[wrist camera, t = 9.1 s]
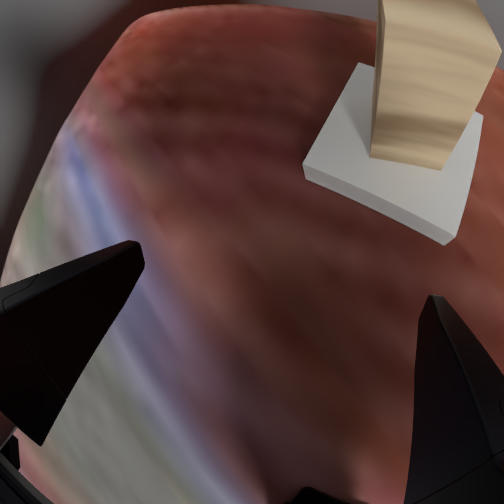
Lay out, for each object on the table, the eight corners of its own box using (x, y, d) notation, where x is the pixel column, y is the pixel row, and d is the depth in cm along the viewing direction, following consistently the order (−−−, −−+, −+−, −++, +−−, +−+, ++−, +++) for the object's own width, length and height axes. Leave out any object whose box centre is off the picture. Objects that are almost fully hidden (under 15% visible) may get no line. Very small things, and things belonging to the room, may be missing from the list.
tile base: (474, 131, 21) (483, 115, 19) (444, 245, 20) (455, 236, 18) (358, 80, 25) (358, 62, 22) (305, 179, 24) (302, 163, 21)
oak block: (440, 170, 19) (502, 51, 7) (369, 157, 20) (385, 20, 9) (435, 112, 20) (471, -6, 8) (371, 101, 21) (377, -28, 10)
